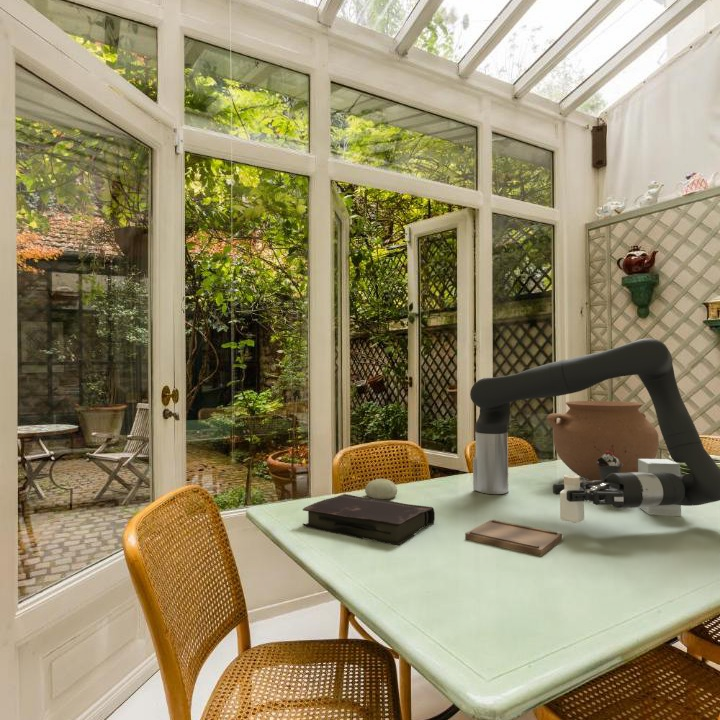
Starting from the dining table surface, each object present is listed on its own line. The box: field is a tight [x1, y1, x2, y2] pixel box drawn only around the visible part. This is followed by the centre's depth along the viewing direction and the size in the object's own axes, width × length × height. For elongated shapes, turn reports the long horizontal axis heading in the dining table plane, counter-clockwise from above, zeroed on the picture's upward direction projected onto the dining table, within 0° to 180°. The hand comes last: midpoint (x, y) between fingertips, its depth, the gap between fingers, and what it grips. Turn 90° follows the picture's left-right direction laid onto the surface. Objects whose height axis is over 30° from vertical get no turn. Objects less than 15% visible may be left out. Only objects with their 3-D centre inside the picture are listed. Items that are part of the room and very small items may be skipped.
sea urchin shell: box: [364, 478, 398, 500], centre depth 143 cm, size 9×8×8 cm
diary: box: [302, 493, 436, 547], centre depth 117 cm, size 19×25×5 cm
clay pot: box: [546, 400, 660, 481], centre depth 158 cm, size 34×30×25 cm
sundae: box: [596, 445, 623, 483], centre depth 136 cm, size 7×7×15 cm
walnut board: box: [464, 519, 563, 557], centre depth 106 cm, size 16×12×2 cm
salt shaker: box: [559, 474, 585, 524], centre depth 109 cm, size 4×4×10 cm
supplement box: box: [638, 458, 682, 517], centre depth 126 cm, size 7×7×13 cm
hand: (560, 492), depth 109 cm, fingers closed on salt shaker, 5 cm apart
